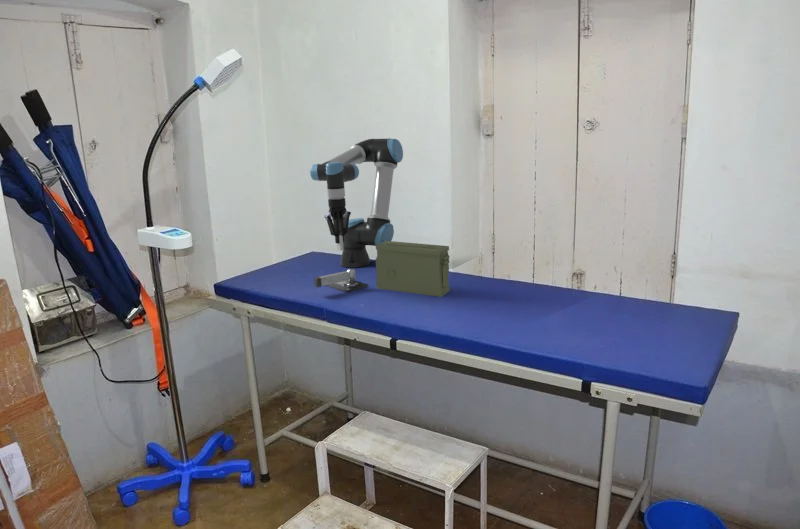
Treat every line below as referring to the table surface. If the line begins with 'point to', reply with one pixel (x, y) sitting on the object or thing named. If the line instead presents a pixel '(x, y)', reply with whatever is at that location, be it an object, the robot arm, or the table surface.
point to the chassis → (347, 286)
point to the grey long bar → (335, 278)
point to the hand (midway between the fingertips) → (340, 249)
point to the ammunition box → (413, 268)
